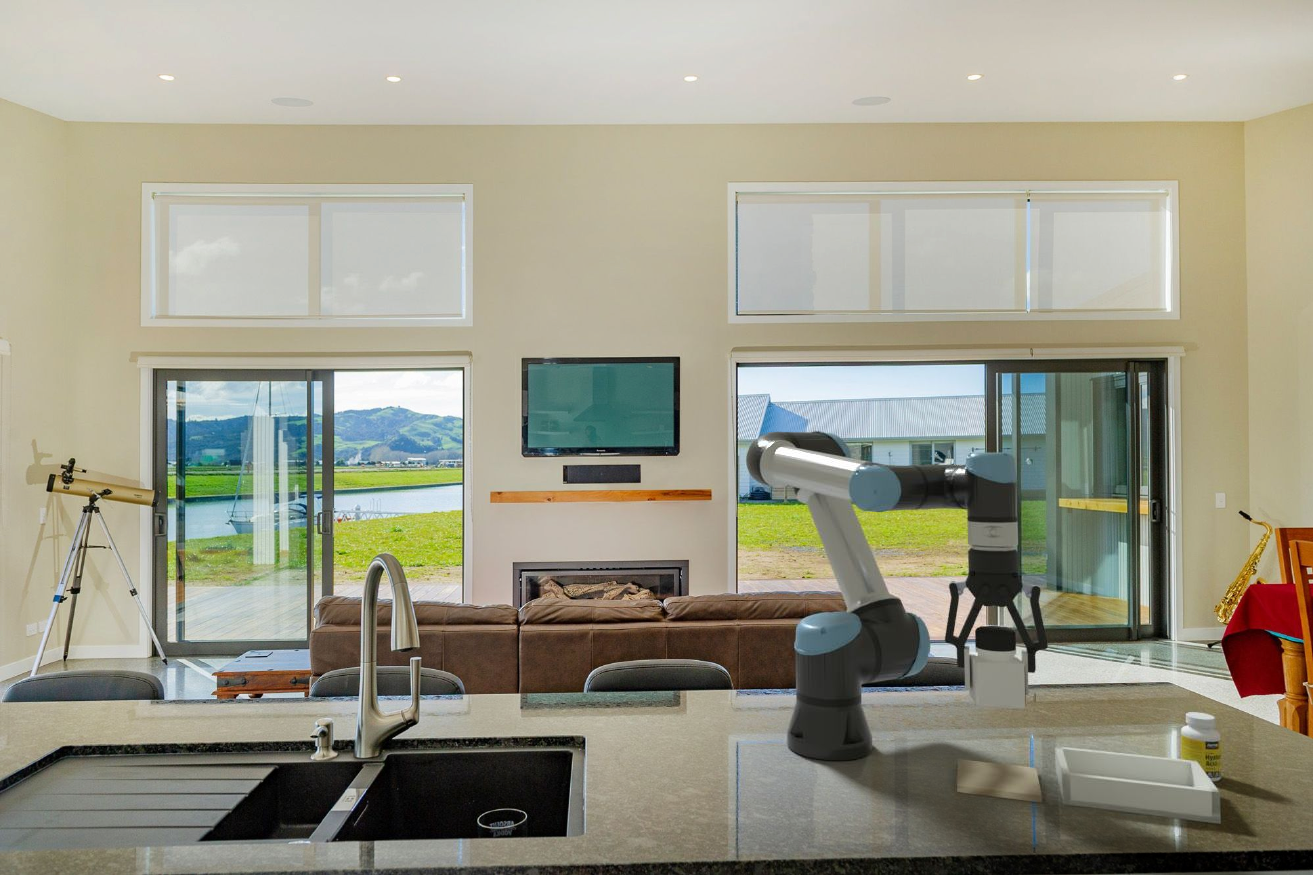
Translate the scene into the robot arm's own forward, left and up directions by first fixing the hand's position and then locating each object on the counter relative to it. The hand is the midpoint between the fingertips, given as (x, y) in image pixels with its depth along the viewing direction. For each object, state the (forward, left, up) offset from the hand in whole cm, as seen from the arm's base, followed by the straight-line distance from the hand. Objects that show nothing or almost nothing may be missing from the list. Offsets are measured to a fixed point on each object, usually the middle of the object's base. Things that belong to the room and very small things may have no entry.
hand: (996, 690), depth 132 cm
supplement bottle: (+31, +14, -15) cm, 37 cm away
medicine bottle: (0, 0, -2) cm, 2 cm away
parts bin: (+19, +1, -15) cm, 24 cm away
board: (0, 0, -15) cm, 15 cm away
